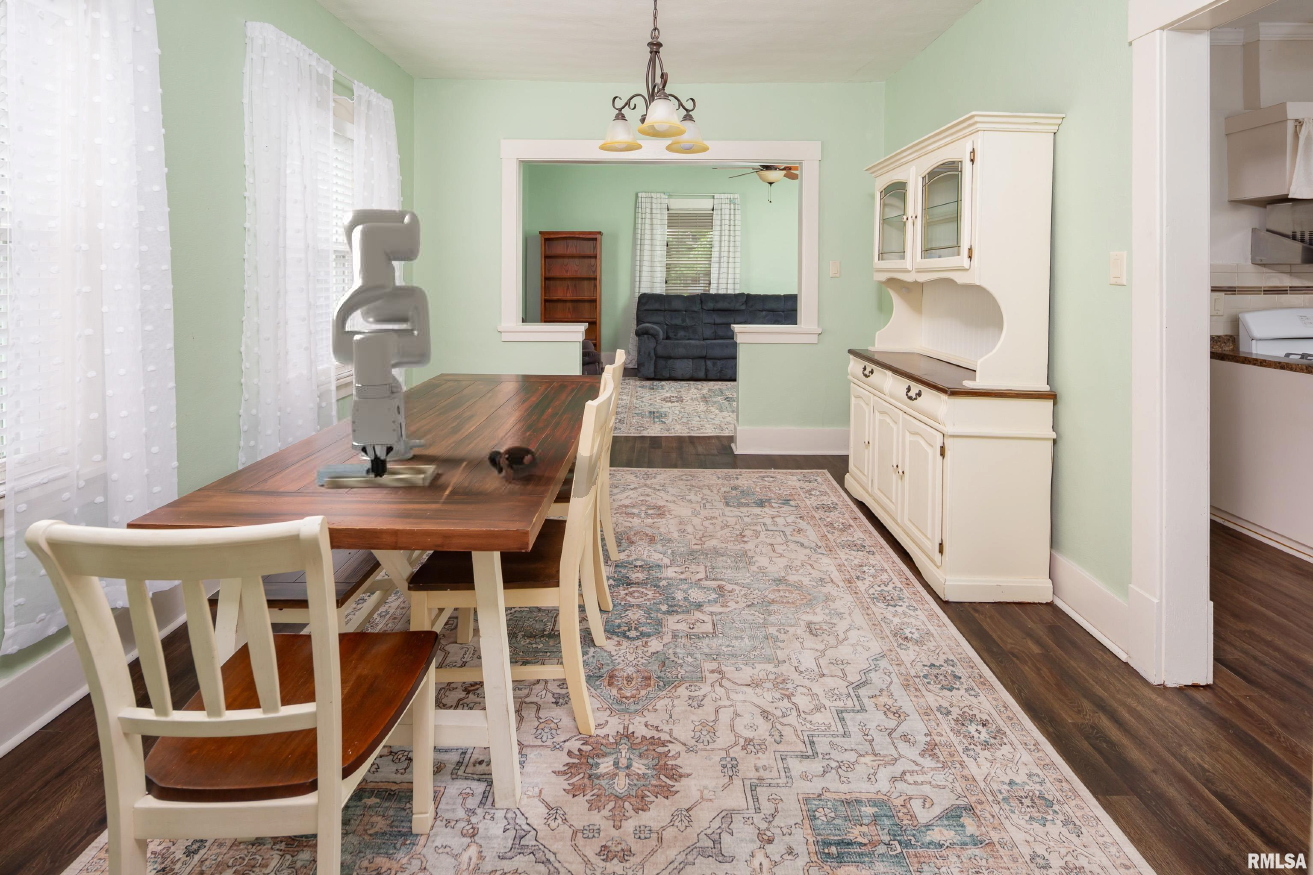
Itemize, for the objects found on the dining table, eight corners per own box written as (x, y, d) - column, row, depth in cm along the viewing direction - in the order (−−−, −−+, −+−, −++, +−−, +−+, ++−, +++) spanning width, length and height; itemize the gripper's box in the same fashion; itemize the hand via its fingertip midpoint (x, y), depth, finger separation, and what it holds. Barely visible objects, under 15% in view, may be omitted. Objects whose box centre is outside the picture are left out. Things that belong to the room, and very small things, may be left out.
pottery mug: (543, 475, 186) (545, 448, 181) (527, 502, 179) (529, 475, 174) (494, 460, 187) (495, 433, 182) (476, 486, 180) (477, 459, 175)
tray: (436, 475, 183) (436, 465, 183) (427, 488, 172) (426, 478, 171) (340, 476, 181) (340, 467, 181) (324, 490, 170) (323, 480, 169)
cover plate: (374, 476, 179) (373, 463, 179) (366, 484, 173) (365, 470, 172) (327, 477, 178) (326, 464, 178) (317, 485, 171) (316, 471, 171)
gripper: (413, 389, 177) (417, 471, 181) (342, 390, 175) (348, 472, 179) (407, 394, 170) (411, 479, 173) (333, 394, 168) (339, 481, 172)
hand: (379, 475), depth 176 cm, fingers closed
